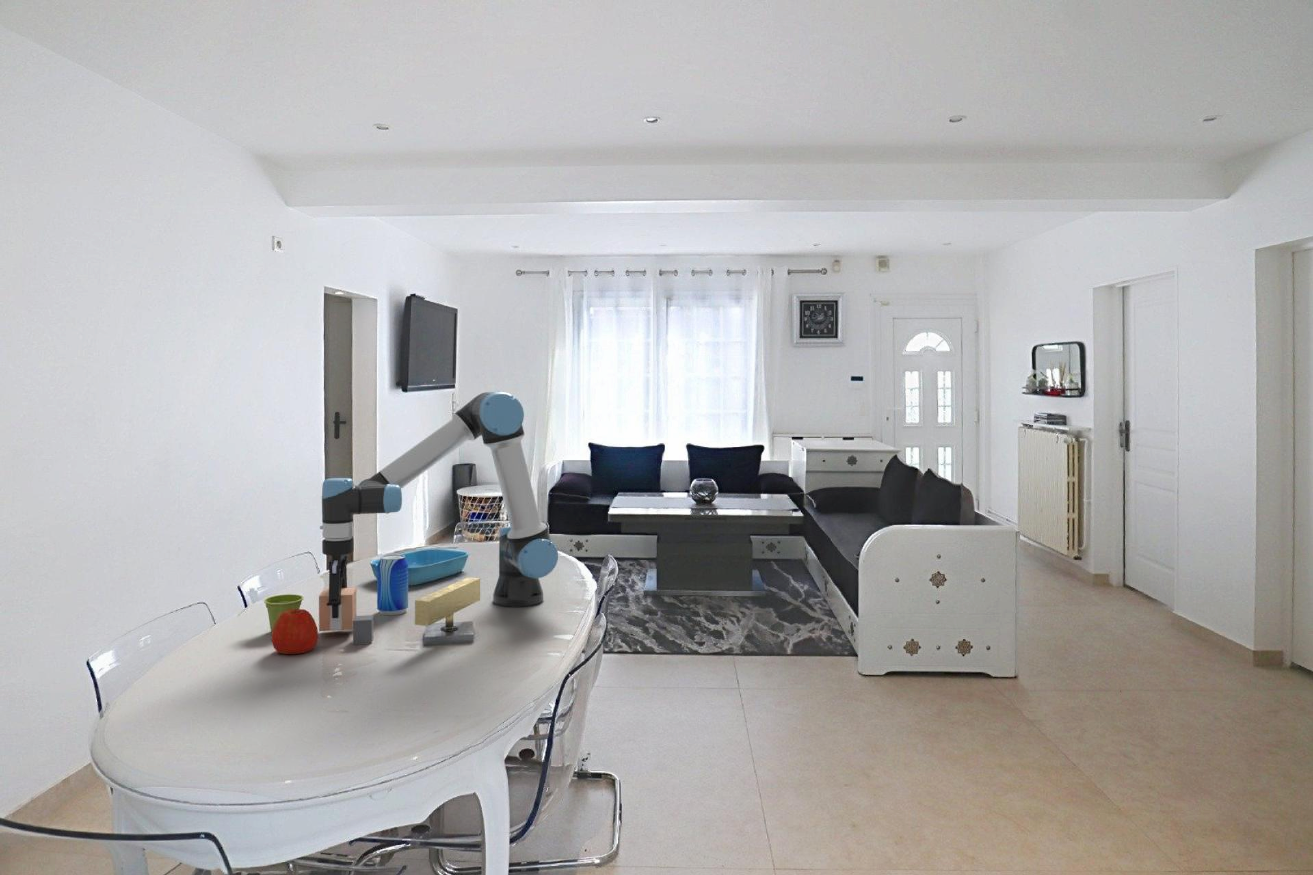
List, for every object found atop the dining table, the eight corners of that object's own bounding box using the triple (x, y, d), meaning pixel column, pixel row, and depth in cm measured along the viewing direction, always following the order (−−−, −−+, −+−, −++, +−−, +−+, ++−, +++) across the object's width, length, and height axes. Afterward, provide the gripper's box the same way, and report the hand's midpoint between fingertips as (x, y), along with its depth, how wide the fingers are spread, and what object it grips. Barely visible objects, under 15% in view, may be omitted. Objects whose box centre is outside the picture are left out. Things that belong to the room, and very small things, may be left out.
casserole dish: (430, 563, 294) (430, 544, 294) (480, 569, 286) (480, 550, 285) (356, 584, 261) (356, 563, 260) (410, 592, 252) (410, 569, 252)
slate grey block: (373, 638, 203) (373, 615, 203) (371, 643, 199) (371, 619, 198) (355, 639, 202) (355, 615, 202) (353, 644, 198) (352, 620, 197)
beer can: (398, 616, 223) (398, 560, 222) (371, 614, 224) (371, 558, 224) (413, 609, 231) (413, 554, 230) (387, 607, 233) (387, 553, 232)
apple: (272, 660, 185) (272, 616, 184) (271, 648, 194) (270, 605, 193) (319, 654, 190) (319, 611, 189) (316, 642, 199) (316, 601, 198)
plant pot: (311, 628, 211) (311, 596, 210) (284, 638, 202) (284, 604, 201) (283, 624, 214) (283, 592, 213) (255, 634, 205) (255, 601, 204)
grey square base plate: (472, 628, 213) (472, 620, 213) (473, 641, 201) (473, 633, 201) (426, 631, 210) (426, 622, 210) (424, 644, 198) (424, 636, 198)
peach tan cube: (356, 620, 211) (356, 587, 211) (352, 629, 203) (352, 594, 203) (324, 622, 209) (324, 588, 209) (319, 631, 201) (318, 596, 201)
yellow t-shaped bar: (468, 612, 218) (468, 577, 218) (480, 614, 217) (480, 578, 217) (414, 640, 193) (414, 600, 193) (428, 641, 192) (428, 601, 192)
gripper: (328, 531, 214) (329, 614, 215) (315, 546, 194) (315, 637, 195) (358, 531, 216) (358, 613, 217) (347, 545, 196) (348, 635, 197)
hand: (338, 624), depth 206 cm, fingers closed on peach tan cube, 8 cm apart
